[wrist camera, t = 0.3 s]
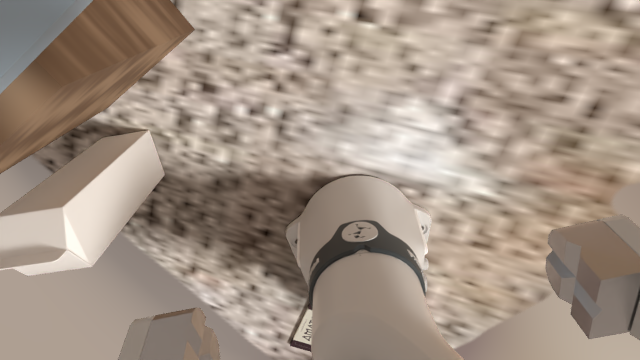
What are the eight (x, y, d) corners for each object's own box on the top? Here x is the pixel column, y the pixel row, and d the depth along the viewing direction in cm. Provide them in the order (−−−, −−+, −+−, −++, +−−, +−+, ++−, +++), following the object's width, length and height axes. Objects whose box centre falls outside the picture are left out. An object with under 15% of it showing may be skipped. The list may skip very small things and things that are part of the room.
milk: (102, 137, 52) (-39, 237, 32) (150, 129, 51) (38, 226, 31) (120, 182, 54) (0, 302, 34) (166, 175, 54) (72, 292, 34)
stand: (138, -37, 44) (-78, -50, 20) (194, 29, 46) (62, 86, 23) (51, 50, 47) (-217, 125, 24) (108, 107, 50) (-83, 224, 27)
